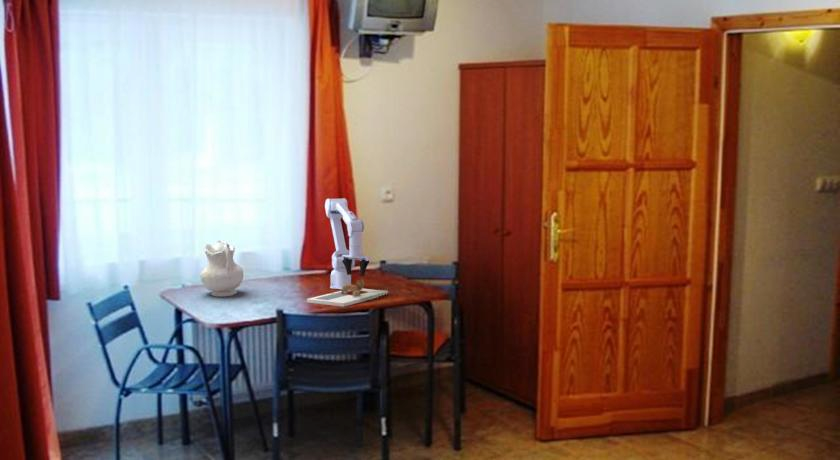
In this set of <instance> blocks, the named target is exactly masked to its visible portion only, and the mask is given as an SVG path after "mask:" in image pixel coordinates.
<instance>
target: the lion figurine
mask: <svg viewBox="0 0 840 460" xmlns="http://www.w3.org/2000/svg"><path fill="white" fill-rule="evenodd" d="M364 286H365V281H364V279H359V280H357V282H356V281H355V283H354V284H351V285H348V284H346V285H344V286H343V288H342V289H341V291H342V292H341V294H343V293H344V292H345V291H346V293H344V294H345V295H349V294H348V293H349V292H348V290H350V292H354V291H360V290H362V289H364ZM343 289H344V290H343ZM360 292H361V291H360Z"/></svg>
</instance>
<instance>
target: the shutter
mask: <svg viewBox="0 0 840 460" xmlns="http://www.w3.org/2000/svg"><path fill="white" fill-rule="evenodd" d="M375 290H376V291H372V292H365V293H361V291H352V295H353V298H360V299H365V298H369V297H373V296H377V295H380V294H384V293H387V294H389V291H388V290H383V289H381V290H380V289H375Z"/></svg>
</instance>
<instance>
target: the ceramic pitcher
mask: <svg viewBox="0 0 840 460" xmlns="http://www.w3.org/2000/svg"><path fill="white" fill-rule="evenodd" d="M235 251H236V248H235V247H234V246H233V245H230V244H228V242H226V241H224V240H218V241H216V243H215V244H214V245H212V244H211V243H206V244H205V245H204V253H205V255H206V257H207V265H206V266H205V267H204V268H203V269H202V270H201V272H200V281H201V283H202V285H203V287H204V288H205V289H207V290H208V291H210V292H212V293H211V296H214V297H230V296H234V295H236V294H238V291H237V290H236V289H237V288H238V287H239V286H240V285H241V284H242V283H243V280H244V270H243V268H242V266H240V265H239V264H237V263H236V262H235V261H234V254H235Z"/></svg>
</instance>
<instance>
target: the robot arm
mask: <svg viewBox="0 0 840 460" xmlns="http://www.w3.org/2000/svg"><path fill="white" fill-rule="evenodd" d="M348 203H349V202H348V200H347V199H346V198H345V197H343V198H327V199H325V203H324V209H325V214H326V217H327V218H328V219H329V221H330V225H331V226H330V227H331V230H332V231H331V232H332V236H333V241H334V246H335V251H334V252H333V254H332V255H331V266H332V268H333V270H331V273H330V287H329V288H330V289H332V290H333V289H335V290H342V288H343V286H344V285H346V284H348V285H352V270H353V268H354V267H355V265H356V264H355V263H356V261H358V264H359V269H360V270H359V273H360V275H359V276H361V277H365V274H366V270H367V267H368V265H369V263H370V261H371V258H370V257H371V256H370V255H363V248H362V247H363V245H362V243H363V240H362V239H363V236H362V235H363V233H364V229H365V224H364V221H363V219H358V217H357V216H356V214H355V213H354V212H353V211H350V210H349V208H348ZM341 220H343V221H344V223H345V224H346V228H347V229H346V230H347V236H348V237H349V239H348V241H349V243H348V245H349V249H347V246H346V241H345V235H344V231H343V230H344V229H343V226H342V225H343V224H342V221H341ZM343 290H344V289H343Z"/></svg>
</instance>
